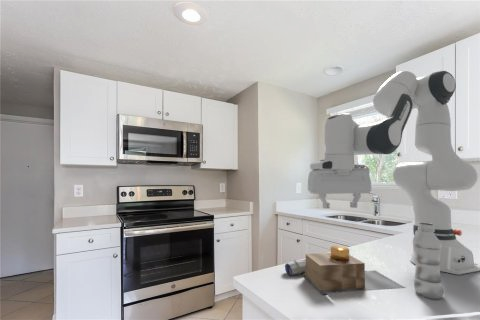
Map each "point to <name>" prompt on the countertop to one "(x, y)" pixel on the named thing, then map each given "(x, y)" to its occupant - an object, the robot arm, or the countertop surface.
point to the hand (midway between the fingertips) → (340, 207)
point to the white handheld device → (295, 267)
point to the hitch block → (343, 275)
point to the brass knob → (340, 253)
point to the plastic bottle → (427, 262)
